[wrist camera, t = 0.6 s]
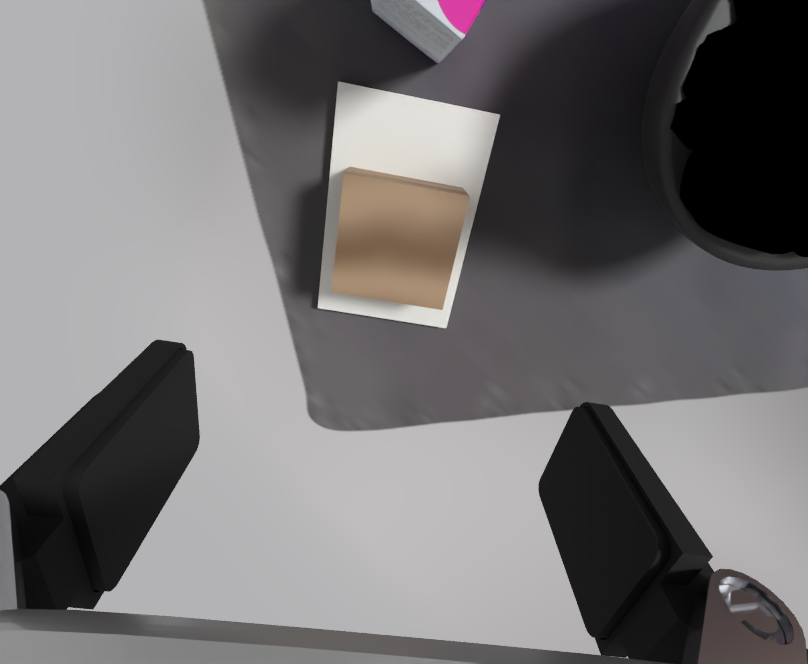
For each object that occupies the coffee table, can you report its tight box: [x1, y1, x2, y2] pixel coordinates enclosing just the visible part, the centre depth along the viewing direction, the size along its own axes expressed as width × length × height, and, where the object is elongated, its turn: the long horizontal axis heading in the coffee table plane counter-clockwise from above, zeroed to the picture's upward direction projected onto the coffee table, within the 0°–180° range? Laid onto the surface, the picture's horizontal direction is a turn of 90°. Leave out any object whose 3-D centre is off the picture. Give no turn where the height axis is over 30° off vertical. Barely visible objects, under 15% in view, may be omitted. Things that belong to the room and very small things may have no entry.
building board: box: [318, 81, 500, 328], centre depth 35 cm, size 18×12×1 cm, turn 170°
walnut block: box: [331, 167, 470, 310], centre depth 33 cm, size 9×9×4 cm
